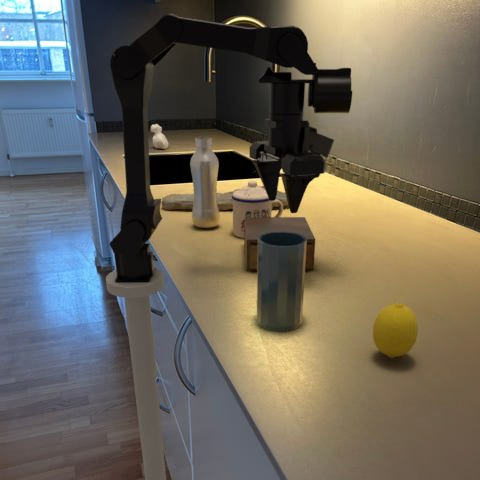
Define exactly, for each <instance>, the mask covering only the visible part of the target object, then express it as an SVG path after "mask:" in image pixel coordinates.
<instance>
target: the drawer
mask: <svg viewBox="0 0 480 480" xmlns="http://www.w3.org/2000/svg"><path fill="white" fill-rule="evenodd" d="M257 251H258V244H250V269H257ZM312 251H313V245H312V244H307V246H306V262H305V268H311V266H312Z"/></svg>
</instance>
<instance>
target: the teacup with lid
mask: <svg viewBox="0 0 480 480" xmlns="http://www.w3.org/2000/svg"><path fill="white" fill-rule="evenodd" d="M260 186H261V185H258V182H257V181H255V180H249V181H247V185H246V186H243V187H242V188H239V189H240V190H237V189H236V190H237V191H235V192H233V194H232V199H233V209H232V233H233V236H236V237H237V238H240V239H244V227H245V218H253V217H272V210H273V208H272V203H278V204H279V207H278V211H277V213H276V214H275V215H274V217H282V214H283V212H284V206H283V204H282V203H281V202H280V201H279V200H277V199H276V200H275V201H270V200H269V198H268V195H267V193H266V190H264V189H263V188H262V187H260Z"/></svg>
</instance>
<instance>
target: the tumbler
mask: <svg viewBox="0 0 480 480" xmlns="http://www.w3.org/2000/svg"><path fill="white" fill-rule="evenodd" d="M306 246H307V240H306V237H304V236H302V235H301V234H297V233H293V232H269V233H265V234H262V235H260V236H259V237H258V251H257V271H256V273H257V274H256V323H257V325H258V326H259V327H260V328H261V329H265V330H268V331H272V332H289V331H293V330H296V329H297V328H299V327H300V326H301V325H302V321H303V312H304V296H305V295H304V294H305V293H304V292H305V276H306V270H305V262H306Z"/></svg>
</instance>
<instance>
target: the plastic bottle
mask: <svg viewBox="0 0 480 480" xmlns="http://www.w3.org/2000/svg"><path fill="white" fill-rule="evenodd" d="M194 141H195V142H194V143H195V144H194V148H196V149H195V151H194V152H193V154H192V156H191V158H190V162H189V165H190V172H191V178H192V186H193V194H194V200H193V210H192V211H191V220H192V223H193V224H194V226H195V227H197V228H202V229H210V228H215V227H217V226H218V224H219V222H220V217H221V215H220V210H219V208H218V203H217V193H218V191H217V190H218V189H217V186H218V175H219V165H220V161H219V159H218V157H217V155H216V154H215V153H214V151H213V150H212V148H213V139H212V137H208V136H198V137H195V139H194Z"/></svg>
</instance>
